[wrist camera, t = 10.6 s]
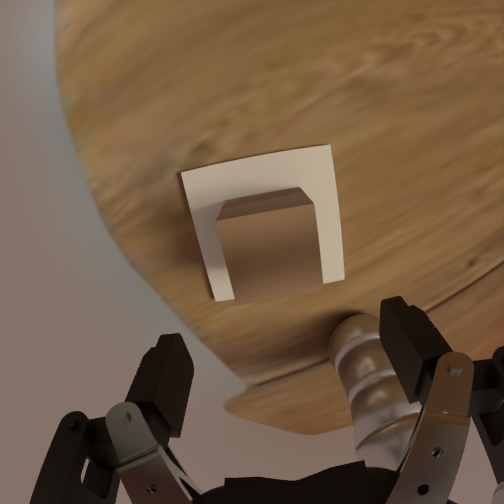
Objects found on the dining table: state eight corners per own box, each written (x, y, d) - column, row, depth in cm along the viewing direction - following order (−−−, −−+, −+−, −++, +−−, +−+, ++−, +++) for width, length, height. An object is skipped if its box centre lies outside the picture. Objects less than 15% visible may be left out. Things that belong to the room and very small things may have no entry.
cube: (225, 200, 23) (215, 221, 17) (299, 186, 22) (314, 203, 17) (240, 267, 25) (236, 305, 19) (309, 255, 24) (323, 290, 19)
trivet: (182, 171, 22) (180, 172, 22) (328, 144, 21) (330, 144, 21) (216, 298, 27) (215, 301, 26) (342, 276, 26) (344, 279, 25)
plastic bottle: (393, 318, 28) (476, 474, 9) (354, 361, 30) (404, 516, 12) (351, 295, 27) (435, 484, 8) (311, 343, 29) (347, 526, 10)
